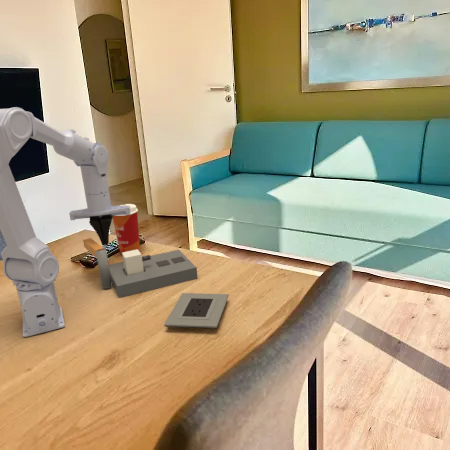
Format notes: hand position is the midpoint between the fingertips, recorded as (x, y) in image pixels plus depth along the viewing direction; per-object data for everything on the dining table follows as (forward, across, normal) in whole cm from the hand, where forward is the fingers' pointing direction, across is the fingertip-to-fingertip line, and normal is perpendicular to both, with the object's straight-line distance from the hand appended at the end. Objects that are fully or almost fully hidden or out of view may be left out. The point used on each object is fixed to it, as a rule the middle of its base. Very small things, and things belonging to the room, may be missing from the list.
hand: (105, 243), depth 112 cm
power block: (+9, -11, +4) cm, 15 cm away
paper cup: (+9, -4, -14) cm, 17 cm away
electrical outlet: (+9, -22, +26) cm, 35 cm away
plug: (+9, -8, +5) cm, 13 cm away
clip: (+8, +2, +3) cm, 9 cm away
